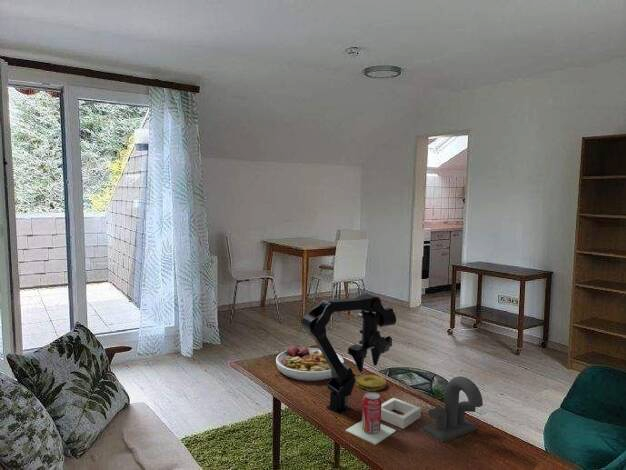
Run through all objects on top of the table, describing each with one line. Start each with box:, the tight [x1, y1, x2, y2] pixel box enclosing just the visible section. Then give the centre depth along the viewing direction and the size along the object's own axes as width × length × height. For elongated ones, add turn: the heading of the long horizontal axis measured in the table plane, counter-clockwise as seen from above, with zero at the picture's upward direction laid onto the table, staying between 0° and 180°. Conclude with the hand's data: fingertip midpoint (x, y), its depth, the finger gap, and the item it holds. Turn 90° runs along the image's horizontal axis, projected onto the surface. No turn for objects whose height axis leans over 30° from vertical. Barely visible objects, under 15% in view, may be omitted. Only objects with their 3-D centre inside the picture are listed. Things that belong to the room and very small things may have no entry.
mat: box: [345, 420, 397, 446], centre depth 156 cm, size 12×12×1 cm
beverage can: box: [361, 391, 383, 433], centre depth 156 cm, size 6×6×12 cm
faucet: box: [422, 376, 484, 443], centre depth 155 cm, size 18×16×20 cm
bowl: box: [275, 345, 345, 382], centre depth 209 cm, size 30×30×8 cm
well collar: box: [381, 397, 422, 429], centre depth 167 cm, size 12×12×4 cm
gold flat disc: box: [356, 374, 387, 392], centre depth 194 cm, size 12×12×2 cm
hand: (368, 368), depth 177 cm, fingers open, 9 cm apart
